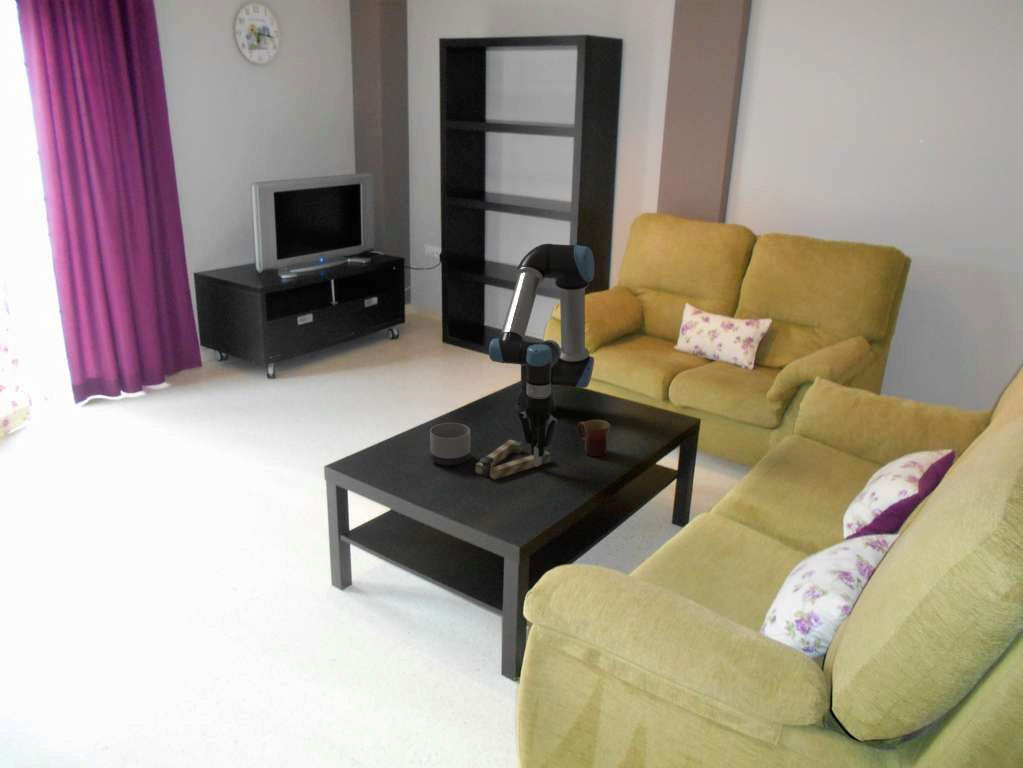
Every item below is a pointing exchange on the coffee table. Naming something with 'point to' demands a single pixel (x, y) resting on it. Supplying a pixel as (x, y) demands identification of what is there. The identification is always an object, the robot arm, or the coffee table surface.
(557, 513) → the coffee table surface
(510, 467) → the tongs jaw
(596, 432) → the mug
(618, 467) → the coffee table surface
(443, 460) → the planter
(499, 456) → the tongs fixed
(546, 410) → the robot arm
